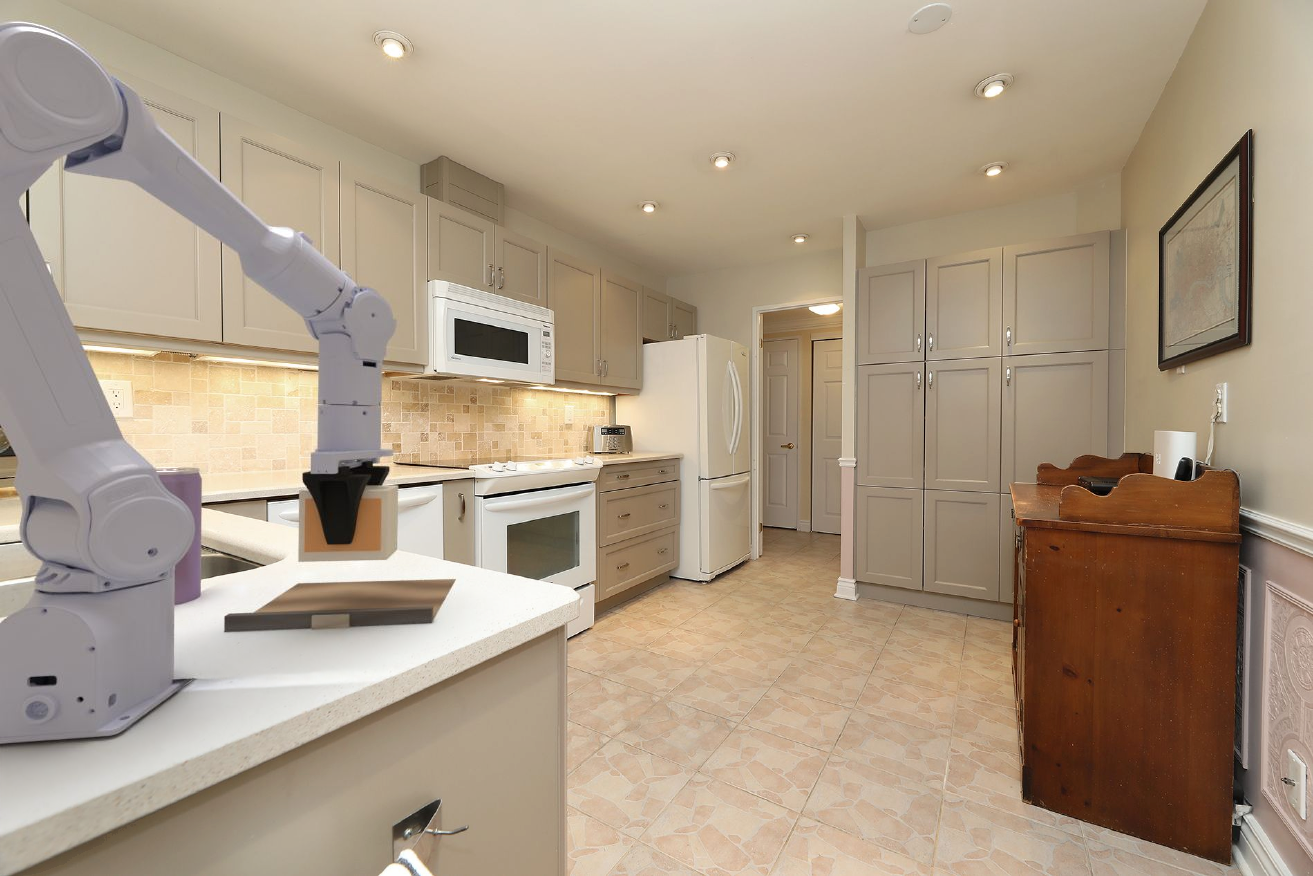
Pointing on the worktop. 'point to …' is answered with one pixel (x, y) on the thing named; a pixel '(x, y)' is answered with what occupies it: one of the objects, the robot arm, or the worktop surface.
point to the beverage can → (189, 490)
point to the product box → (371, 531)
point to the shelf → (346, 605)
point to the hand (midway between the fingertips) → (348, 538)
